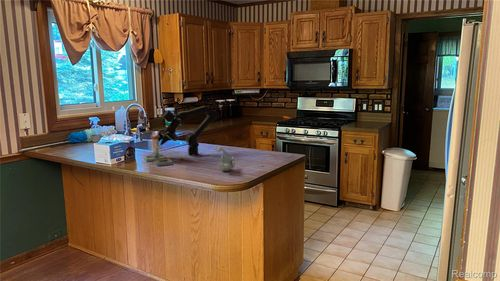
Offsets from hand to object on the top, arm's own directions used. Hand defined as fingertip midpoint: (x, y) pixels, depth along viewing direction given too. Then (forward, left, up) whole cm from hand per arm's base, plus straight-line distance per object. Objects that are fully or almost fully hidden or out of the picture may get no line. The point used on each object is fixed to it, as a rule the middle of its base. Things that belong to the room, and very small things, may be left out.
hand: (158, 143), depth 253 cm
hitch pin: (+2, 0, -10) cm, 10 cm away
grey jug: (-29, +52, -11) cm, 61 cm away
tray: (+3, 0, -10) cm, 11 cm away
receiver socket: (+1, +17, -10) cm, 20 cm away
